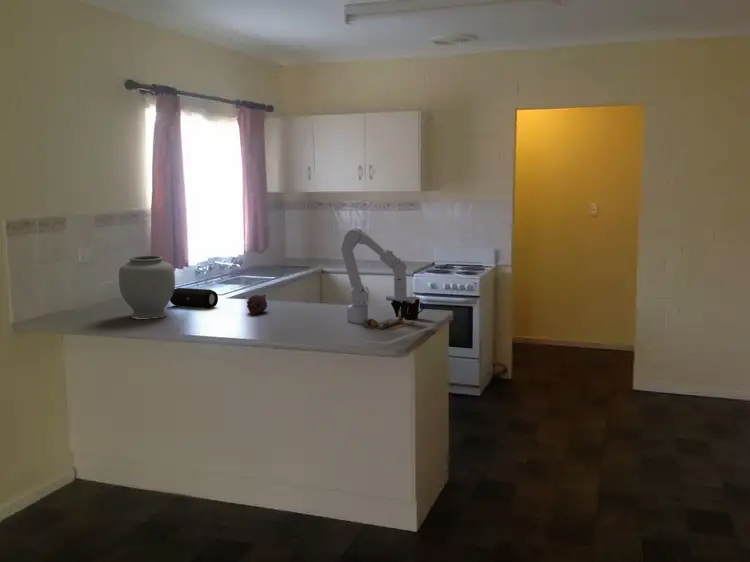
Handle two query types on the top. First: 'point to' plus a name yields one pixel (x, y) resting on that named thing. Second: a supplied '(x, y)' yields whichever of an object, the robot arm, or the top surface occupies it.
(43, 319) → the top surface
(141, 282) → the grey ceramic vase
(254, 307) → the pine cone
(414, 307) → the coffee mug
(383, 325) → the lever
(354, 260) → the robot arm
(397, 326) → the board
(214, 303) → the portable speaker
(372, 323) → the walnut
